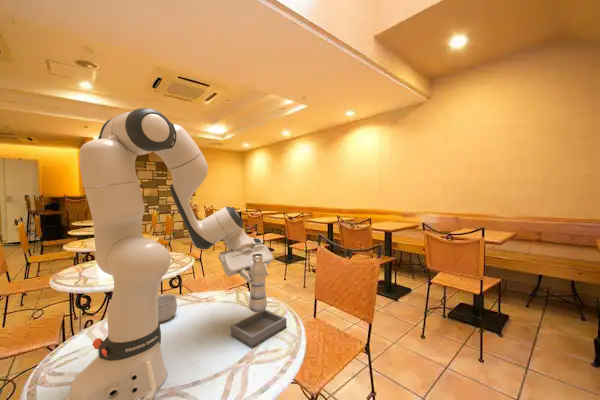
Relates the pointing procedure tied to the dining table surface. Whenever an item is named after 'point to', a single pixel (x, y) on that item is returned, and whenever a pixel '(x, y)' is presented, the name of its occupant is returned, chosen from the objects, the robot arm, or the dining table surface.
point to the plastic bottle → (257, 284)
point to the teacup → (166, 306)
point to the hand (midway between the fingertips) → (258, 278)
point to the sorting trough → (257, 328)
